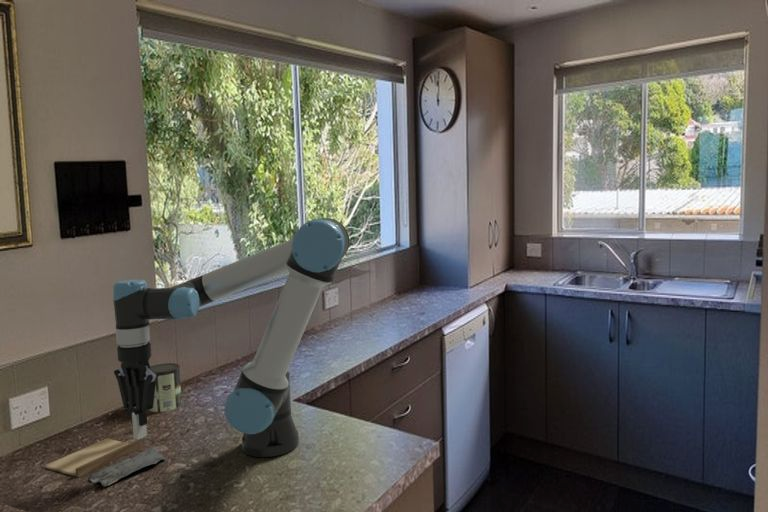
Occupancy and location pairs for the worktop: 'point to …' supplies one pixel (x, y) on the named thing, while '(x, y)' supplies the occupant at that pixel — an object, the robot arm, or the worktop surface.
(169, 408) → the coffee can
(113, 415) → the worktop surface
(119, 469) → the stone slab
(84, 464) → the board
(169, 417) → the worktop surface
